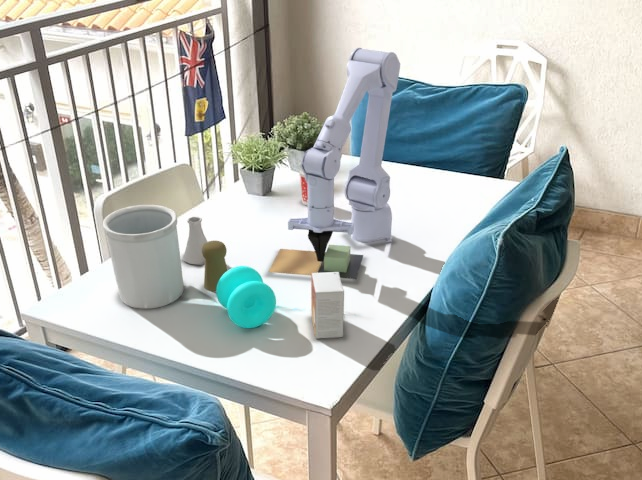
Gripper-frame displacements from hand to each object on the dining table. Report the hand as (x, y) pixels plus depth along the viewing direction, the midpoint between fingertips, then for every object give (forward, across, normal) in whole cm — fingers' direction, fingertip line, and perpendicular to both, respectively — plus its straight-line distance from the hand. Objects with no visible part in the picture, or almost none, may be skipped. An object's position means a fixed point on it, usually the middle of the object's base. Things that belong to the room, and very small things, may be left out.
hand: (320, 259), depth 159 cm
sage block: (+1, +4, 0) cm, 4 cm away
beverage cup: (+2, -10, +38) cm, 39 cm away
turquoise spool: (+2, -11, -24) cm, 27 cm away
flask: (+2, -29, 0) cm, 29 cm away
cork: (+2, -20, -14) cm, 25 cm away
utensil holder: (+2, -34, -18) cm, 39 cm away
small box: (+2, +6, -25) cm, 26 cm away
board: (+2, -1, 0) cm, 2 cm away
